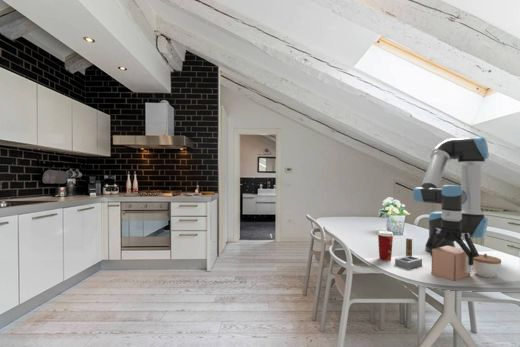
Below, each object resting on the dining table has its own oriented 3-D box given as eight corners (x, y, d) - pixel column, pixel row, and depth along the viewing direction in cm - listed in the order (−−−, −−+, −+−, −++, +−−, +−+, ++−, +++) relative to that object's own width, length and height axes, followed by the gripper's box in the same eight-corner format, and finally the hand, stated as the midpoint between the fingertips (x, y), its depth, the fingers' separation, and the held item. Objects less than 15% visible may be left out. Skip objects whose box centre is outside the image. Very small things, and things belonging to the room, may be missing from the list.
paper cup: (395, 261, 143) (395, 234, 143) (378, 260, 145) (379, 233, 144) (391, 257, 151) (391, 231, 151) (375, 256, 152) (376, 230, 152)
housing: (446, 268, 133) (447, 245, 133) (469, 275, 125) (470, 250, 125) (431, 273, 126) (431, 249, 126) (454, 280, 118) (455, 254, 118)
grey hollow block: (408, 261, 144) (408, 255, 144) (421, 265, 138) (422, 259, 138) (395, 264, 138) (395, 258, 138) (408, 269, 132) (408, 262, 132)
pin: (407, 256, 152) (408, 238, 152) (412, 258, 150) (413, 239, 150) (404, 257, 150) (405, 238, 150) (409, 258, 148) (410, 239, 148)
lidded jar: (507, 280, 119) (507, 258, 119) (478, 278, 121) (479, 256, 121) (491, 271, 130) (491, 251, 130) (465, 270, 131) (465, 250, 131)
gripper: (418, 216, 134) (417, 261, 134) (480, 224, 113) (480, 278, 113) (427, 215, 138) (426, 258, 138) (489, 223, 117) (488, 274, 116)
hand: (450, 267), depth 125 cm, fingers open, 13 cm apart
